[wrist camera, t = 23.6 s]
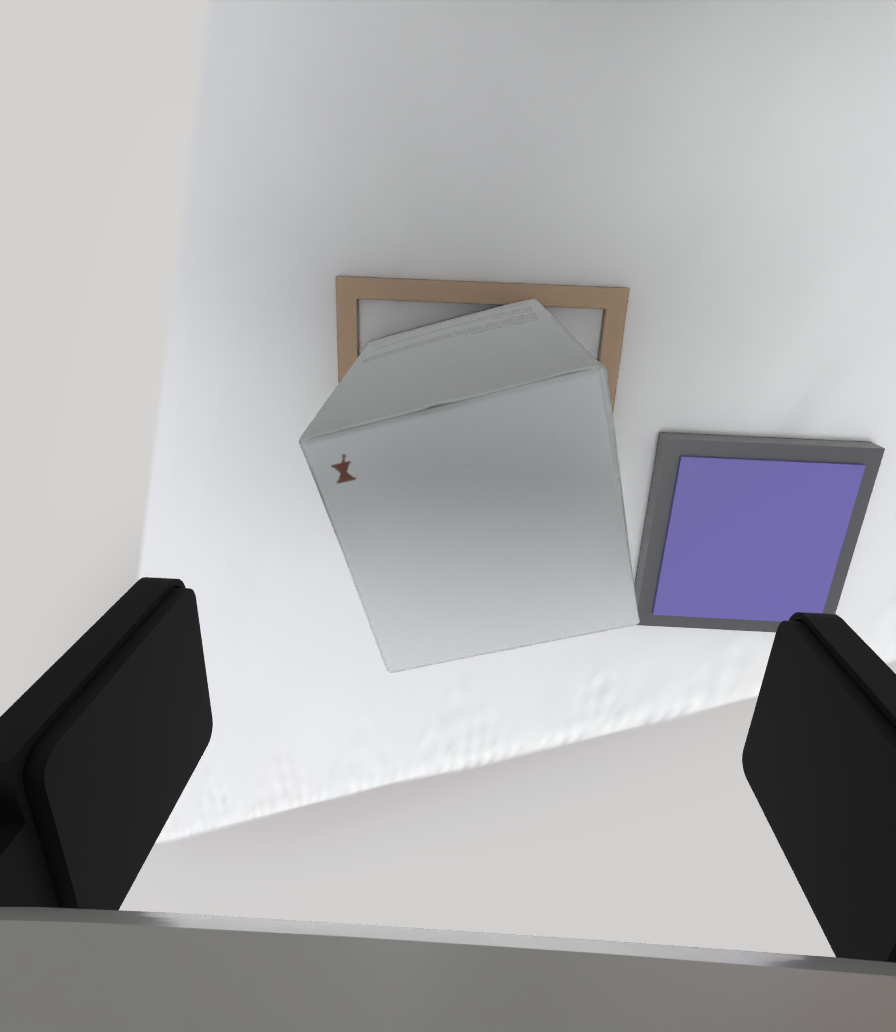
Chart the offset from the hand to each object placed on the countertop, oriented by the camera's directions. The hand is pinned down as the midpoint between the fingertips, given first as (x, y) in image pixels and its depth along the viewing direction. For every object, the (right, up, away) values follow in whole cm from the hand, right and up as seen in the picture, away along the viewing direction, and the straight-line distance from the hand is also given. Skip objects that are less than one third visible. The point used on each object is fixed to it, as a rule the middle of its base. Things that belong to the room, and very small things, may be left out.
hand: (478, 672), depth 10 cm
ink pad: (+13, +2, +19) cm, 23 cm away
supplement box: (+1, +7, +17) cm, 19 cm away
